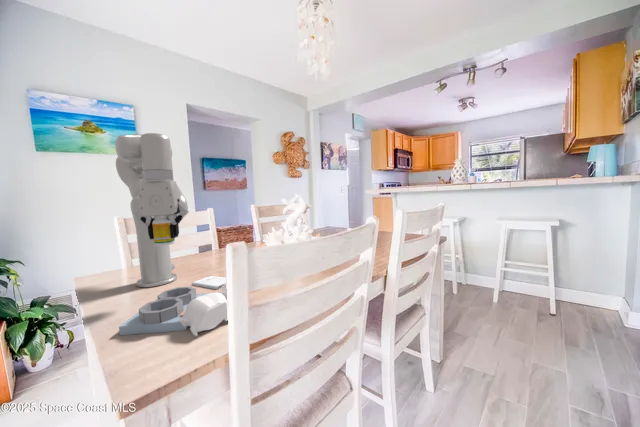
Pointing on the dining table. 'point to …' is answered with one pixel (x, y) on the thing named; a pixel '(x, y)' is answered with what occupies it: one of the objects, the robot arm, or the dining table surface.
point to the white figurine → (206, 312)
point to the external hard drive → (210, 282)
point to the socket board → (152, 327)
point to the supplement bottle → (162, 231)
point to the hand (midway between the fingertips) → (164, 237)
